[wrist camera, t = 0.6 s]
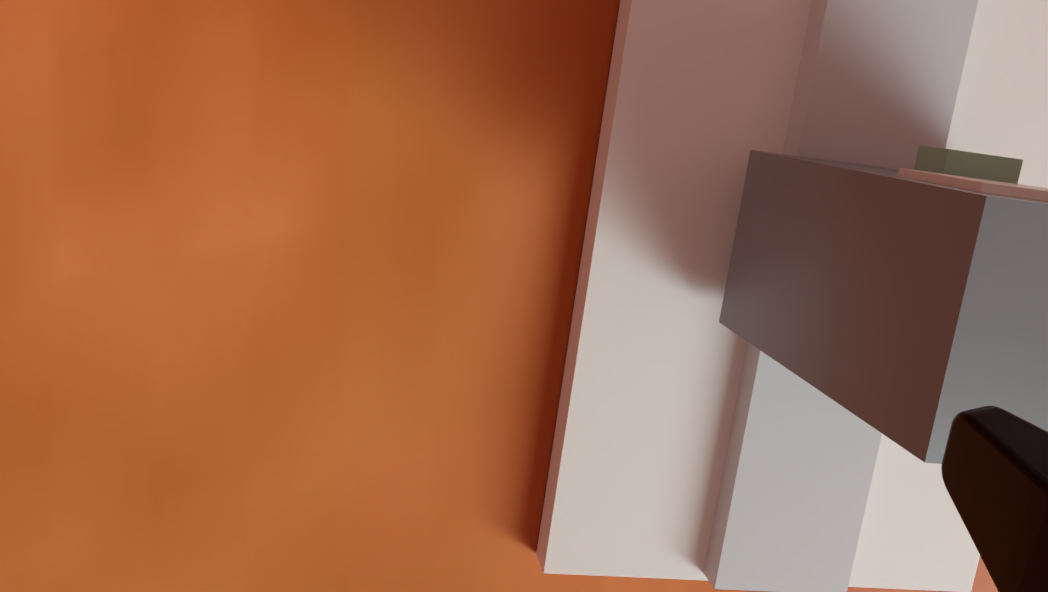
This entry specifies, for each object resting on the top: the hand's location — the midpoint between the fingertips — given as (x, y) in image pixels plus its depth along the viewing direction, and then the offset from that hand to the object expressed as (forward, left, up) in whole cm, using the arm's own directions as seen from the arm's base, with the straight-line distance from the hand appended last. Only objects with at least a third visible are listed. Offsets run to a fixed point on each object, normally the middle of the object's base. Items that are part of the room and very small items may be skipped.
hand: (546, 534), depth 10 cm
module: (+4, -9, -12) cm, 15 cm away
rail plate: (+5, -8, -14) cm, 17 cm away
